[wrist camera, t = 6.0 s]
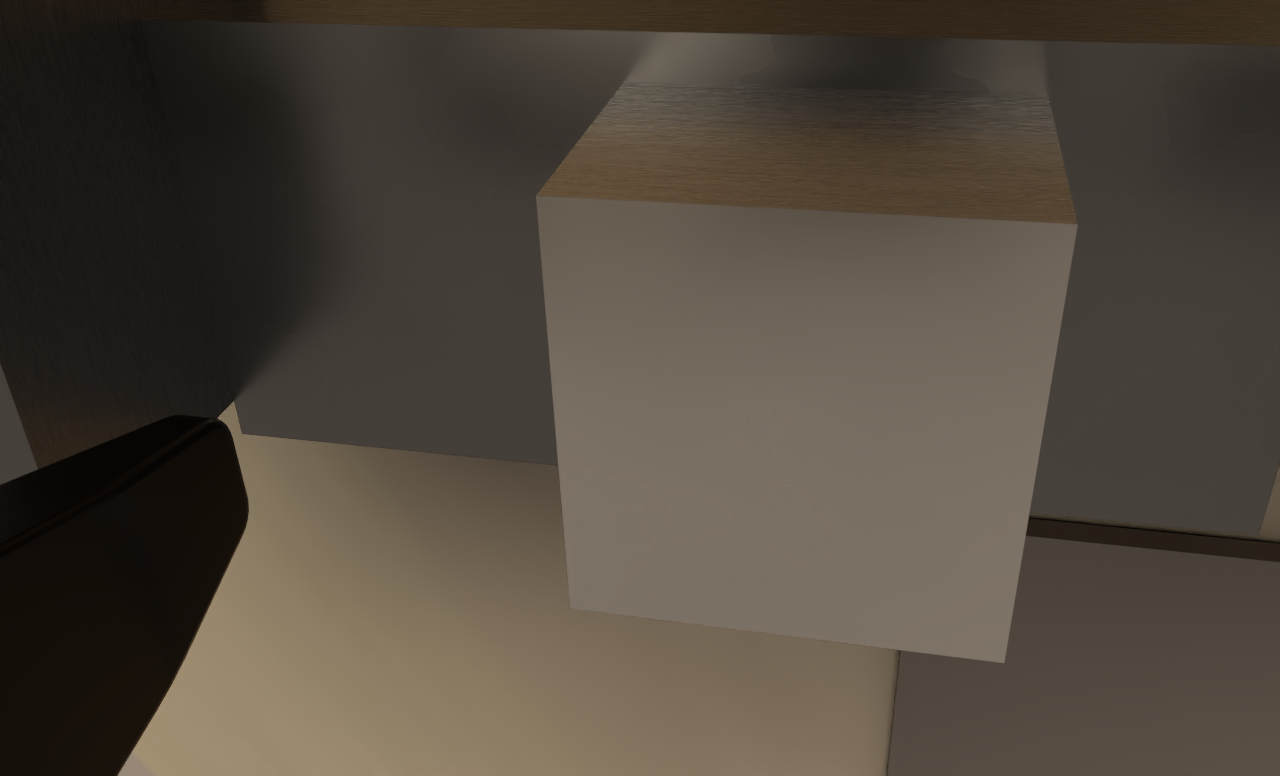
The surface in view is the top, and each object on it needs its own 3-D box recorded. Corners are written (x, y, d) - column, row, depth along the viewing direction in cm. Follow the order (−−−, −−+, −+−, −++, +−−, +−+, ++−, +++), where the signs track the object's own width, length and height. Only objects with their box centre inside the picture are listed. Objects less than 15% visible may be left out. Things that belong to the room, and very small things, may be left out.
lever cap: (1048, 94, 11) (1076, 224, 8) (993, 471, 13) (1004, 662, 11) (623, 81, 12) (535, 195, 9) (638, 438, 14) (569, 609, 11)
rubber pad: (1566, 573, 15) (1581, 593, 15) (1422, 881, 18) (1431, 904, 18) (915, 506, 17) (914, 524, 16) (883, 800, 20) (882, 820, 19)
